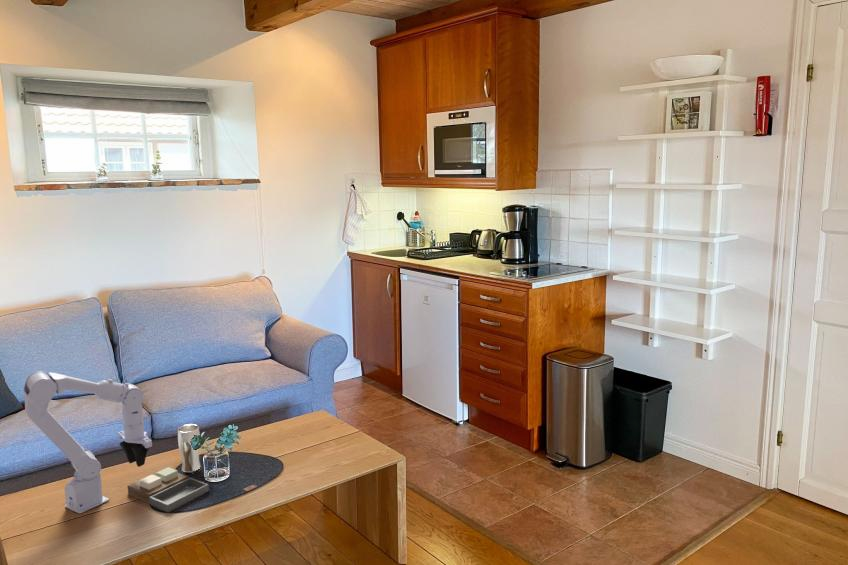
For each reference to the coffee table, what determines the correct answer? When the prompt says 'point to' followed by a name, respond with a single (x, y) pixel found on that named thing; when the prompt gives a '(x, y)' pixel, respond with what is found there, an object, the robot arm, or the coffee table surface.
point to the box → (178, 495)
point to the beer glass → (188, 447)
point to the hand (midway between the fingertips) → (136, 463)
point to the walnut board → (144, 493)
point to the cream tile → (150, 482)
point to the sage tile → (167, 474)
